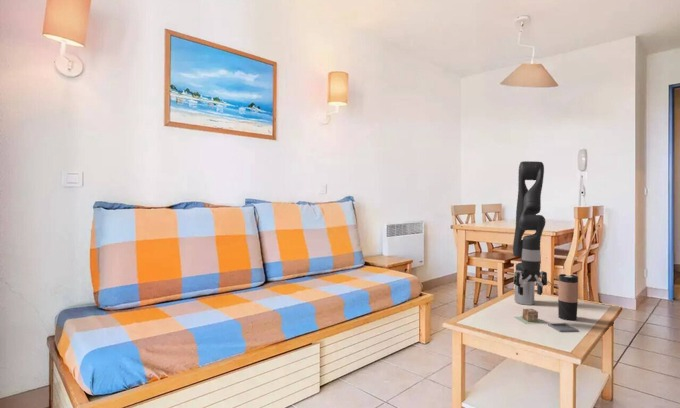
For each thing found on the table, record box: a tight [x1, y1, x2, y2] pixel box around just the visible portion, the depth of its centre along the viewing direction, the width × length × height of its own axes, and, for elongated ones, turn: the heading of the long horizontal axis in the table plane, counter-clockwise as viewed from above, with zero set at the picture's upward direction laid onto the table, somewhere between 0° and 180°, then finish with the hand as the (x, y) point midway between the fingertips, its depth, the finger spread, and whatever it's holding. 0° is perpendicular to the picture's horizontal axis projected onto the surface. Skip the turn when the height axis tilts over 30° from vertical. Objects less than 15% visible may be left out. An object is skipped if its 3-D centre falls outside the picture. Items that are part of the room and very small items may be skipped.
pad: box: [513, 316, 548, 325], centre depth 172 cm, size 10×10×1 cm
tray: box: [547, 322, 579, 333], centre depth 161 cm, size 8×8×1 cm
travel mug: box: [557, 273, 579, 322], centre depth 175 cm, size 8×8×20 cm
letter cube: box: [522, 308, 539, 322], centre depth 172 cm, size 5×4×5 cm
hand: (530, 294), depth 172 cm, fingers open, 8 cm apart
